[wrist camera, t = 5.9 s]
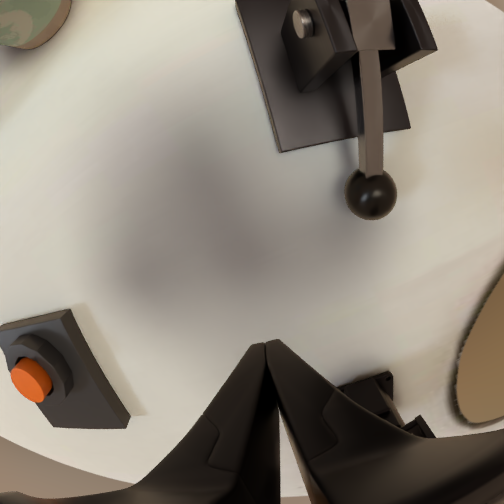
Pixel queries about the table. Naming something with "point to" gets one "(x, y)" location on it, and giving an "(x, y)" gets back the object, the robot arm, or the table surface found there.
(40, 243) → the table surface
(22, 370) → the button
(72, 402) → the button block
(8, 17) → the coffee cup
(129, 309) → the table surface
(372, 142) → the lever
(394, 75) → the bracket
